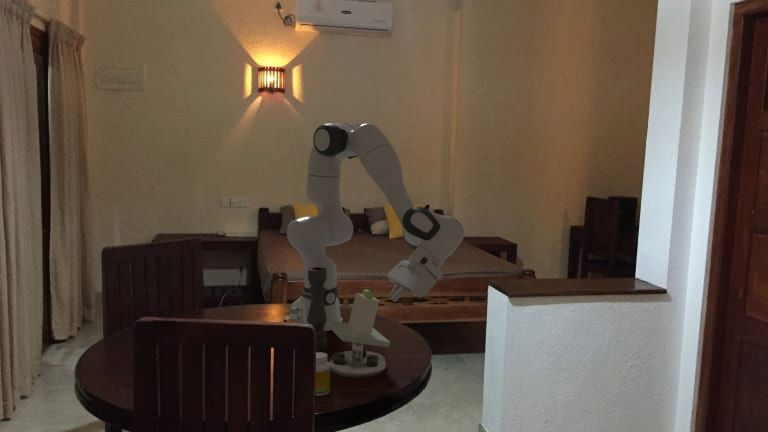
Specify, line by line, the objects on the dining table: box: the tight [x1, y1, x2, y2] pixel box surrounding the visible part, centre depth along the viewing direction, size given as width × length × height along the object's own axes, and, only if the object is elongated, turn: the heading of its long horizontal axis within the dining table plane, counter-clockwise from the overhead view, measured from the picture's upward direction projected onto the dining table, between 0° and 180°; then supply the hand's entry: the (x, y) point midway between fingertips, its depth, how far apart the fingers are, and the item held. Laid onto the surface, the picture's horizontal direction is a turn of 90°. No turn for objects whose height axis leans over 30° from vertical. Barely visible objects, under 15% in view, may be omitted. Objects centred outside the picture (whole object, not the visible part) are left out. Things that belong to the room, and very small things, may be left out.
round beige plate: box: [328, 342, 387, 379], centre depth 159 cm, size 16×16×8 cm
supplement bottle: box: [315, 351, 331, 397], centre depth 142 cm, size 5×5×10 cm
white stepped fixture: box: [328, 288, 391, 348], centre depth 159 cm, size 14×14×13 cm
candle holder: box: [307, 267, 328, 353], centre depth 173 cm, size 6×6×25 cm
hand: (391, 299), depth 161 cm, fingers closed
